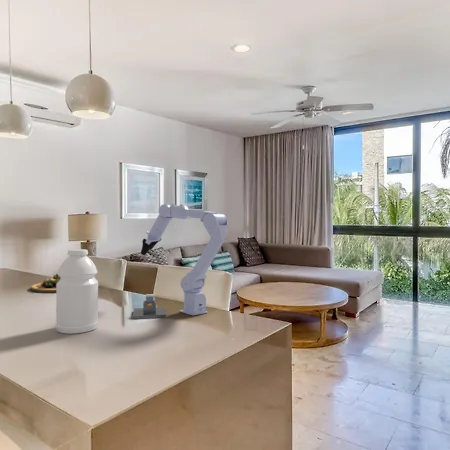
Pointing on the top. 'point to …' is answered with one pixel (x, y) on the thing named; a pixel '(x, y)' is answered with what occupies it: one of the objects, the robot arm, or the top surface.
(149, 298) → the column
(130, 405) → the top surface
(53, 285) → the wooden plate with food
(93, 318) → the bottle
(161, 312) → the stand base
